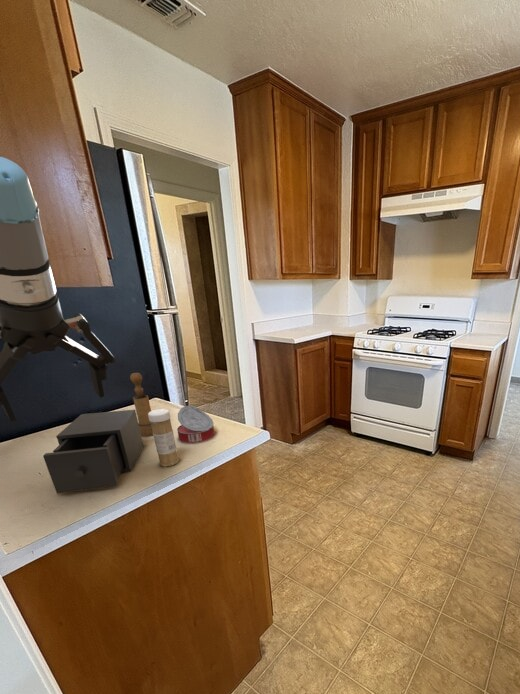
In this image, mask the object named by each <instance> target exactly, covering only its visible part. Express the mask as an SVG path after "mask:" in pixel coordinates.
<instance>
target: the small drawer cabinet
mask: <svg viewBox="0 0 520 694" xmlns="http://www.w3.org/2000/svg"><path fill="white" fill-rule="evenodd" d="M138 423H139V421H138V417H137V412H136V409H125V410H112V411H104V412H103V411H102V412H101V411H100V412H92V413H82V414H80V415H79V416H77V417H76V418H75V419H74V420H73V421H72V422H70V423H69V424H67V426H66V427H65V428H64V429H62V430H61V431H60V432H59V433H58V434H56V436H55V437H56V439H57V442H58V446H59V445H60V444H61V443H62V442H63V441H64V440H65V439H66V438H76V437H86V436H96V435H106V434H116V433H117V435H118V439H119V443H120V447H121V450H122V454H123V458H124V462H125V466H124V467H123V469H122V471H121V472H120V473H128V472H131V471H132V469H133V468H134V466H135V464H136V462H137V460H138V458H139V456H140V454H141V453H142V451H143V449H144V447H145V445H144V444H145V443H144V440H143V437H142V436H141V432H140V428H139V424H138Z"/></svg>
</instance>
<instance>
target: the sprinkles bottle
mask: <svg viewBox="0 0 520 694" xmlns="http://www.w3.org/2000/svg"><path fill="white" fill-rule="evenodd" d="M148 417H149V421H150V423H151V426H152V430H153V435H152V436H153V440H154V441H153V442H154V445H155V448H156V450H155V451H156V453H157V457H158V460H159V461H158V462H159V466H162V467H171V466H174V465H176V464H178V463H179V461H180V459H179V455H178V452H177V443H176V439H175V434H174V429H173V427H172V422H171V411H170V410H169V409H167V408H158V409H153V410H151V412H149V413H148Z"/></svg>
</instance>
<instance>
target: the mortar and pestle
mask: <svg viewBox="0 0 520 694" xmlns="http://www.w3.org/2000/svg"><path fill="white" fill-rule="evenodd" d="M129 379H130V381H131V382H132V384H133V385H134V388H133V390H134V393H135V394H136V395H135V396H133V397H132V400H133V405H134V407H135V408H134V409H135V411H136V415H137V419H138V424H139V428H140V432H141V436H142V438H143V437H144V438H145V437H151V436H153V430H152V426H151V423H150V421H149V417H148V413H149V412H151V411H152V409H151V403H150V398H149V395H147V394H144V388H143V387H142V381H143V376H142V374H141V373H140V372H133V373H130V376H129Z"/></svg>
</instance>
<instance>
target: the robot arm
mask: <svg viewBox="0 0 520 694" xmlns="http://www.w3.org/2000/svg"><path fill="white" fill-rule="evenodd" d="M39 212H40V208H39V205H38V203H37V201H36V199H35V197H34V193H33V189H32V185H31V183H30V179H29V176H28V174H27V173H26V172H25V170H24V169H23V168H22V167H21V166H20V165H19V164H17V163H16V162H14V161H12V160H11V159H8V158H6V157H3V156H0V339H2V340H3V341H5V342H4V343H3V348H2V349H1V351H0V406H2V408H3V411H4V412H5V414H6V416H7V418H8V419H9V422H11V423H12V422H16V421H17V418H16V416H15V414H14V411H13V409H12V406H11V404H10V402H9V400H8V397H7V394H6V392H5V391H4V389H3V388H2V386H1V385H2V384H3V382H4V381H5V379H6V378H7V377H8V376H9V374H10V372H11V371H12V370H13V369H14V367H16V365H17V363H18V362H19V361H22V360H23V359H24V358H25V357H26V355H27V354H31V355H37V354H39V353H43V352H52V351H56V349H57V348H61V349H62V350H64V351H66V352H70V353H72V354H74V355H75V356H77V357H79V358H82V360H84V361H86V362H87V363H88V367H89V368H88V369H89V373H90V377H91V382H92V388H93V390H94V391H95V393H96V394H97V395H98V397H99V398H101V399H102V398H104V397H105V391H104V386H103V381H106V380H107V378H108V376H107V370H108V369H109V367H108V364H109V363H110V364H113V363H115V362H116V360H117V359H116V357H115V356H114V355H113V353H111V351H110V350H109V349H108V347H107V346H105V344H103V342H102V341H101V340H100V339H99V338H98V337H97V336H96V334H95V333H94V332H92V330H91V327H90V323H89V322H88V320H87V319H86V318H85V317H84V316H83V314H81V313H80V312H76V313H74V315H73V317H72V318H71V317H70V318H67V319H64V316H63V311H62V307H61V303H60V298H59V295H58V294H57V286H56V283H55V279H54V275H53V271H52V267H51V263H50V258H49V254H48V249H47V243H46V241H45V235H44V231H43V230H44V229H43V227H42V221H41V216H40V213H39ZM70 329H72V330H74V331H75V332H77V333H80V334H81V333H82V335H83V336H84V337H85V339H86V340H88V342H89V343H90V344H91V345H92V346H93V347H94V349H96V350H97V351H98V352H99V353H100V354H99V355H98V354H96V353H95V352H93V351H92V350H90V349H88V348H87V347H85V346H83V345H82V344H80V343H78V342H77V341H75V340H73V339H72V338H70V337H69V336H67V334H68V333H69V332H70Z"/></svg>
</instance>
